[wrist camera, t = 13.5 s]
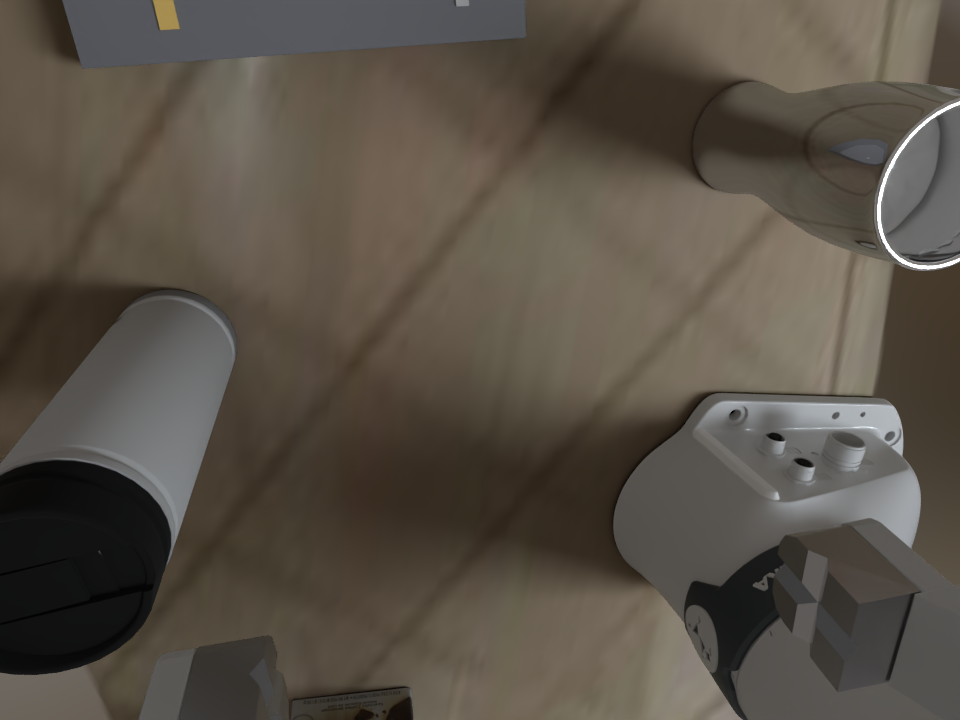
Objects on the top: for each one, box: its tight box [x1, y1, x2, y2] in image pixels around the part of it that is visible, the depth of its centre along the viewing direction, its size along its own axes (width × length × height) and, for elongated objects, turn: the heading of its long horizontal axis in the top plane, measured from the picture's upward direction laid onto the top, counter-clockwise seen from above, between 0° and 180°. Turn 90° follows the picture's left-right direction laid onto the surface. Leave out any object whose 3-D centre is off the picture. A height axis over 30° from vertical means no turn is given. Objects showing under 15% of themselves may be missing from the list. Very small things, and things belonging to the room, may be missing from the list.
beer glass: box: [692, 81, 960, 271], centre depth 32 cm, size 7×7×15 cm
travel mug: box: [0, 290, 237, 675], centre depth 28 cm, size 6×7×20 cm
